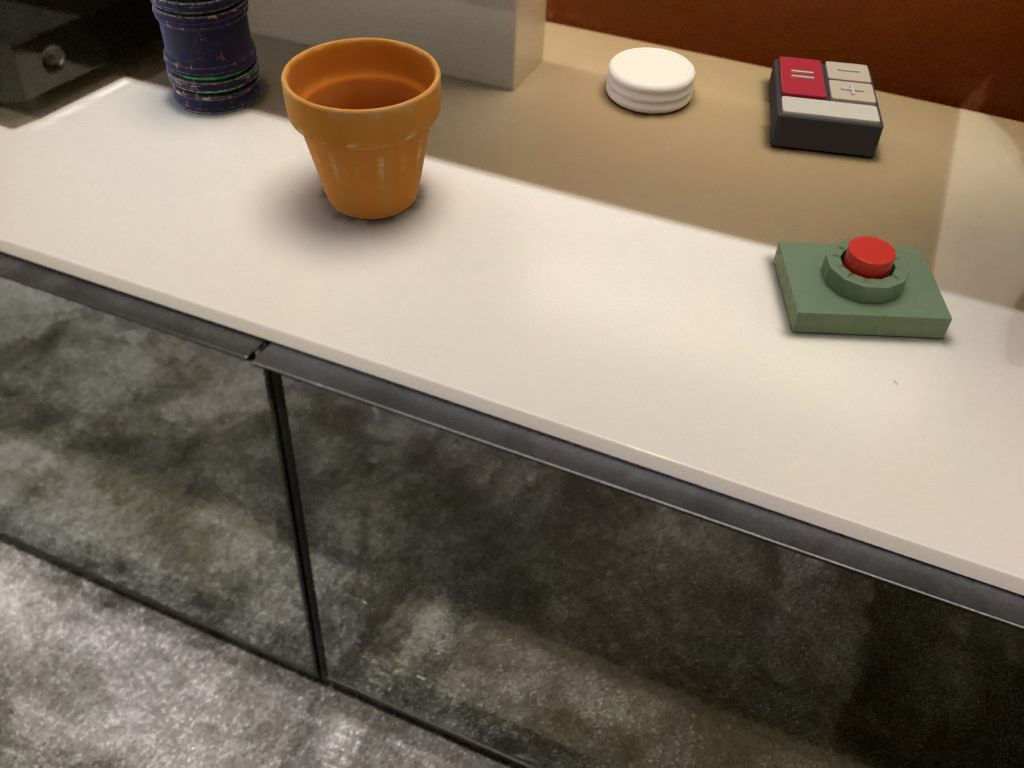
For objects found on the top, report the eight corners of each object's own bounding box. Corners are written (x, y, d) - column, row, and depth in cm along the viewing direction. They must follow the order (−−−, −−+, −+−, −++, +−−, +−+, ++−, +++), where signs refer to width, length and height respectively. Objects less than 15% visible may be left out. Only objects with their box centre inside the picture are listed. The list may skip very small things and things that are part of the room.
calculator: (871, 61, 111) (886, 120, 100) (861, 97, 114) (874, 157, 103) (775, 51, 112) (779, 108, 101) (767, 86, 115) (770, 145, 104)
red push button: (883, 253, 85) (889, 236, 84) (895, 281, 82) (901, 265, 81) (838, 251, 85) (843, 235, 84) (848, 279, 82) (854, 263, 81)
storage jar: (252, 66, 114) (230, -65, 103) (272, 105, 107) (251, -31, 97) (166, 80, 111) (133, -54, 100) (181, 121, 104) (149, -17, 94)
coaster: (696, 117, 108) (702, 88, 106) (608, 114, 108) (611, 85, 106) (686, 74, 115) (690, 46, 113) (603, 72, 115) (606, 44, 113)
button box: (912, 266, 90) (927, 231, 87) (943, 338, 82) (960, 302, 80) (773, 260, 90) (783, 225, 87) (792, 331, 83) (803, 295, 80)
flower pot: (269, 199, 94) (246, 75, 85) (369, 141, 102) (359, 22, 93) (375, 255, 88) (363, 128, 79) (472, 189, 97) (472, 67, 87)
